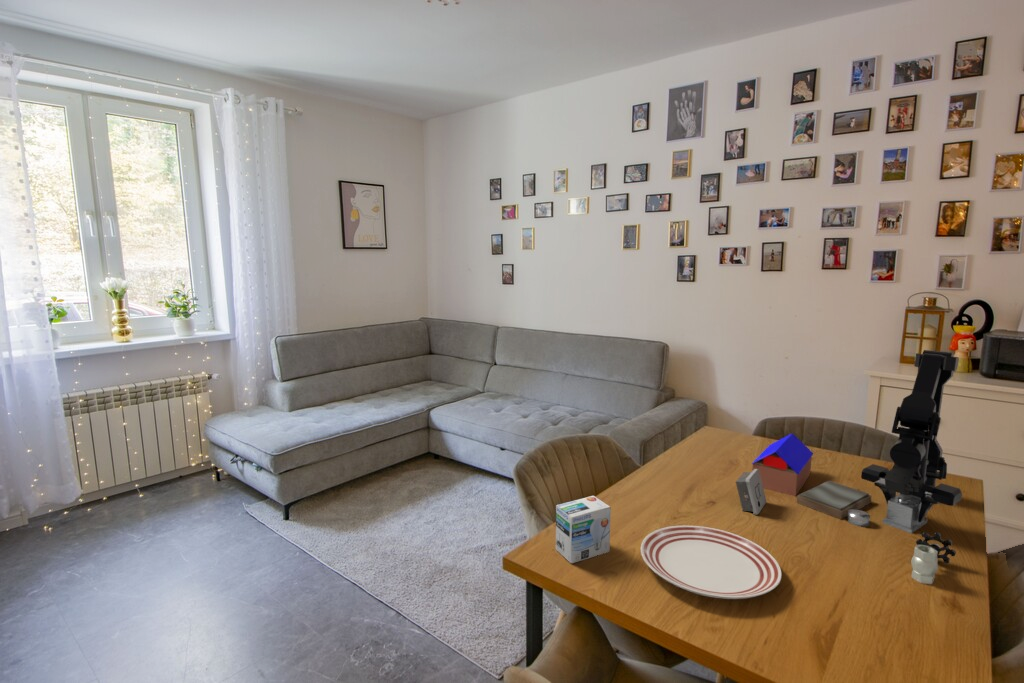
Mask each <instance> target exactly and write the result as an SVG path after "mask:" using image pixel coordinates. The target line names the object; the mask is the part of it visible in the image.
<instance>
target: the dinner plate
mask: <svg viewBox="0 0 1024 683" xmlns="http://www.w3.org/2000/svg"><path fill="white" fill-rule="evenodd" d="M640 554H641V558H642V559H643V562H644V563H645V564H646V566H648V568H649V569H651V570H652V571H653V572H654V573H655V575H657V576H659V577H660V578H661V579H663V580H664V581H666V582H668V583H669V584H671V585H674V586H675V587H677V588H679V589H683V590H684V591H688V592H691V593H692V594H696V595H699V596H702V597H703V596H704V597H709V598H714V599H716V598H717V599H720V600H721V599H722V600H723V599H724V600H725V599H726V600H741V599H742V600H745V599H751V598H755V597H759V596H762V595H765V594H767V593H769V592H771V591H773V590H774V589H776V587H778V585H779V584H780V583H781V580H782V569H781V567H780V564H779V563H778V561H777V560H776V559H775V557H774V556H773V555H771V554H770V552H768V551H767V550H766V549H764V548H763V547H762V546H760V545H758V544H757V543H756V542H754V541H751V540H750V539H747V538H745V537H743V536H741V535H738V534H736V533H732V532H729V531H727V530H722V529H718V528H713V527H707V526H702V525H684V524H683V525H682V524H681V525H670V526H666V527H661V528H658V529H655V530H654V531H652V532H650V533H648V535H646V536H645V537H644V538H643V540H642V541H641V545H640Z"/></svg>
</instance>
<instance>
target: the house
mask: <svg viewBox="0 0 1024 683" xmlns="http://www.w3.org/2000/svg"><path fill="white" fill-rule="evenodd" d="M813 455H814V453H813V451H812V450H810V448H808V447H807V446H806V445H805V444H804V442H802V441H801V440H800V438H798V437H797V436H796V435H795V434H794V433H790V434H788V435H786V436H784V437H783V438H780V439H779V440H777V441H774V442H772V443H771V444H769V445H768V446H767V447H766V448H765V449H764V451H762V452H761V453H760V455H758V456H757V457H756V458H755V459H754V461H753V462H751V464H752V467H751V468H752V470H751V472H752V471H753V470H754V469H758V470H759V473H760V477H761V481H762V485H763V489H764V490H769V491H772V492H777V493H781V494H785V495H788V496H792V497H797V494H798V493H799V492H800V490H801V489H802V487H803V486H804V484H805V483H806V481H807V479H808V478H809V476H810V475H811V468H812V458H813V457H812V456H813Z"/></svg>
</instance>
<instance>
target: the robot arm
mask: <svg viewBox="0 0 1024 683" xmlns="http://www.w3.org/2000/svg"><path fill="white" fill-rule="evenodd" d="M914 358H915V359H914V364H913V365H914V367H916V368H917V373H916V374H917V375H916V377H915V381H914V384H913V388H912V391H911V393H910V394H909V395H907V396H904V398H903V399H902V402H901V404H900V406H897V408H896V411H895V416H894V420H893V423H892V424H893V425H892V428H891V433H892V434H897V435H899V436H898V439H897V441H895V443H894V444H893V445H892V446H891V448H890V451H889V457H890V459H891V461H892V462H893V466H892V467H891V469H889V467H884V466H881V465H878V464H875V463H874V464H870V465H869V466H866V467H864V468H862V471H861V476H860V478H861V479H862V480H864V481H868V482H872V483H873V484H874V486H876V487H878V488H879V489H880V490H881V492H882V494H883V496H884V498H885V501H886V506H888V500H890V499H892V498H893V497H895V496H897V495H896V494H897V493H898V494H902V495H908V494H909V495H913V496H916V497H919V498H921V502H922V503H921V508H920V512H919V516H918V522H922V520H923V519H924V518H926V516H927V514H928V512H929V511H930V509H931V508H932V507H933V506H934V505H938V504H939V503H940V504H943V505H946V506H949V507H953V506H955V505H957V504H958V503H959V502H960V501H962V498H963V492H962V490H961V489H960V488H959V487H955V486H952V485H948V484H945V483H942V482H940V483H939V484H937V485H936V482H937V480H939V481H942V480H944V479H945V480H946V479H947V475H948V463H947V462H946V460H945V457H943V448H942V447H941V445H940V443H939V441H938V439H937V438H938V435H939V434H938V433H939V430H940V426H941V422H942V421H941V420H942V418H941V411H942V410H941V409H942V402H943V396H944V395H943V394H944V389H945V388H944V386H945V385H946V384H947V383H948V381H949V380H951V379H952V378H953V377H954V372H956V371H958V367H959V357H957V356H954V352H951V351H943V350H942V351H941V350H940V351H938V350H931V349H930V350H928V349H924V350H923V351H922V353H915V357H914ZM899 425H900V426H899Z"/></svg>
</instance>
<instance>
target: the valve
mask: <svg viewBox="0 0 1024 683" xmlns="http://www.w3.org/2000/svg"><path fill="white" fill-rule="evenodd" d="M941 537H942V535H941V532H939V531H936V532H934V533H933V536H931V535H930V533H929V532H926V531H924V532H922V534H921V538H924V539H921V538H918V539H916V541H915V544H916V545H915V547H914V550H913V556H912V558H911V559H910V560H911V562H910V564H911V568H912V570H911V574H910V575H911V578H912V579H914V581H917V582H918V583H921V584H925V585H931V586H932V584H933V583H934V581H935V576H936V574H937V572H938V569H939V565H938V562H939V559H942V560H943V563H945V564H949V563H950V562H951V559H950V557H949V556H951V557H955V556H956V554H957V552H956V550H955V549H952V548H950V547H951V546H952V544H953V541H952V540H951V539H949V538H948V539H945V540H944V539H942V538H941ZM929 541H936V542H938V543H940V544H941V545H942V546H943V547H941V545H940V544H938V543H935V542H933V543H929ZM943 551H945V552H944V553H942V554H940V553H941V552H943ZM948 555H949V556H948Z"/></svg>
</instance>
